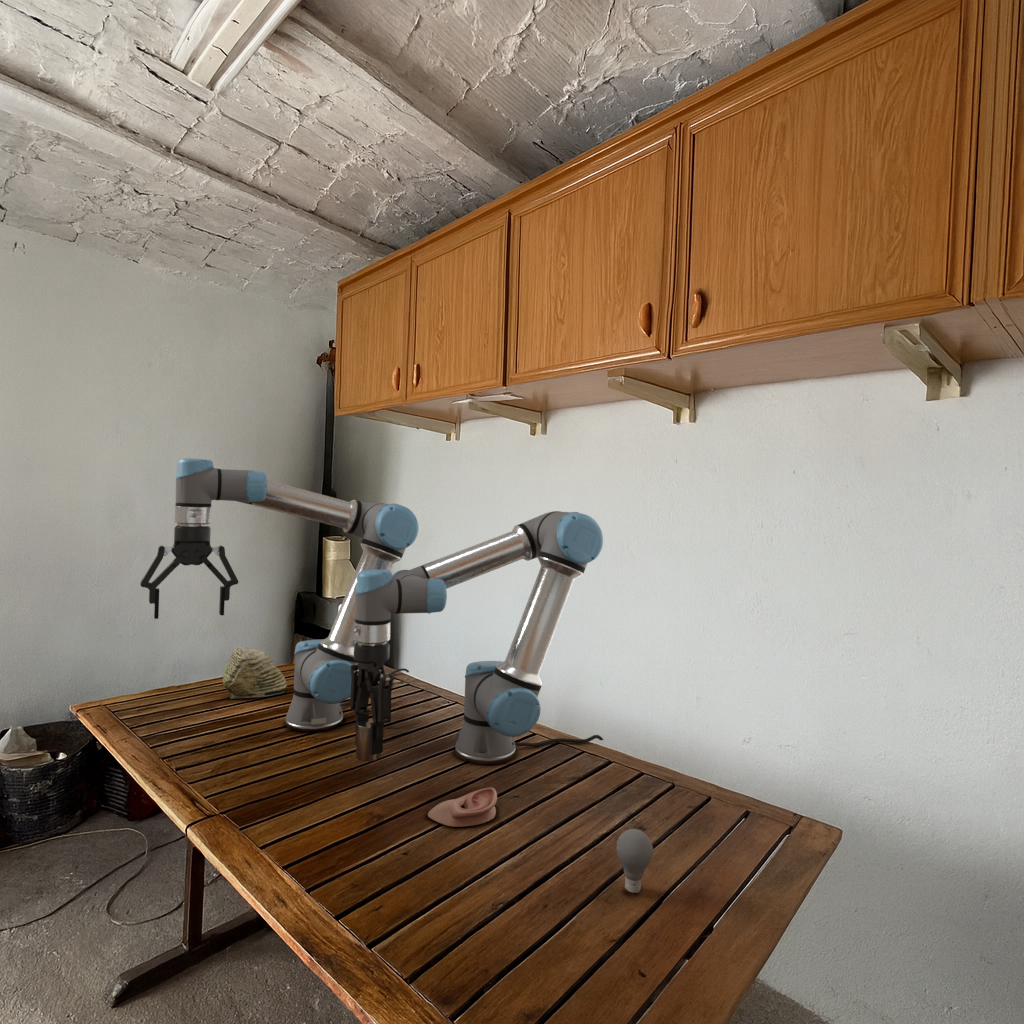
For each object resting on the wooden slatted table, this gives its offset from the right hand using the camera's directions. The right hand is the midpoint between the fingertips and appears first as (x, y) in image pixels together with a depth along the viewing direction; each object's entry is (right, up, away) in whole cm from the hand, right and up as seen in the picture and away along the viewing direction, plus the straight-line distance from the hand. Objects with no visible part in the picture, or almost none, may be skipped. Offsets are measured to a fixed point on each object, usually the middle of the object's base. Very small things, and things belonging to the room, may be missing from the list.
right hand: (368, 748), depth 137 cm
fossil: (-50, -6, +61) cm, 79 cm away
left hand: (-44, +27, +11) cm, 53 cm away
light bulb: (+51, -12, -31) cm, 61 cm away
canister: (0, -2, 0) cm, 2 cm away
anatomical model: (+21, -10, -8) cm, 25 cm away
